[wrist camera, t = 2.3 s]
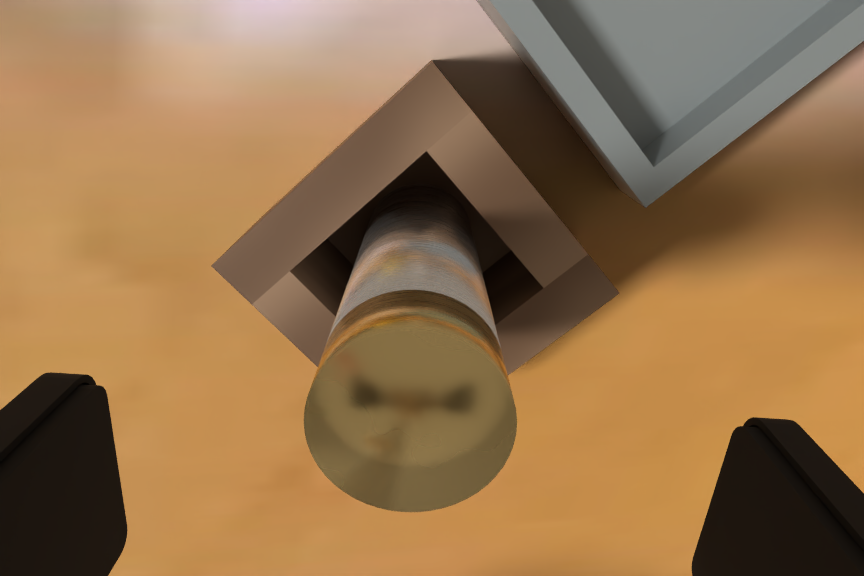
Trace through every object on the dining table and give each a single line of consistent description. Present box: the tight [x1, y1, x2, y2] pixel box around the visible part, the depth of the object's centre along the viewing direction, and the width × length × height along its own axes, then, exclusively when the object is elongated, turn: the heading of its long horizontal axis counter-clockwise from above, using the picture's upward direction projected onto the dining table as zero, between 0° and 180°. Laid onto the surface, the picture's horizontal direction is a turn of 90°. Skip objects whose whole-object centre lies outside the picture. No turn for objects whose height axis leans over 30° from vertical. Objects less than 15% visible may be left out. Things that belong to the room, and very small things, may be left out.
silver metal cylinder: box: [304, 184, 517, 512], centre depth 17 cm, size 4×4×13 cm
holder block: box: [212, 60, 619, 375], centre depth 22 cm, size 9×9×6 cm
